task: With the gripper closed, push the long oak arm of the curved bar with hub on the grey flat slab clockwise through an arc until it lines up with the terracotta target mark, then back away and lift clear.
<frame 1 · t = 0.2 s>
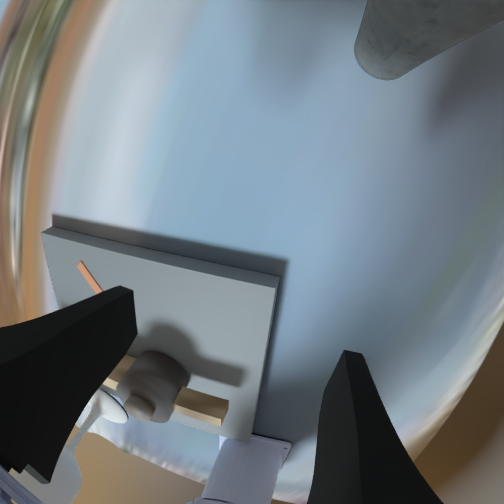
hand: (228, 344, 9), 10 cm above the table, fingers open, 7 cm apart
wineglass: (103, 402, 36), on the table
grey flat slab: (151, 344, 26), on the table
curved bar with hub: (120, 379, 23), point 4 cm above the table, hinge at 0.0°
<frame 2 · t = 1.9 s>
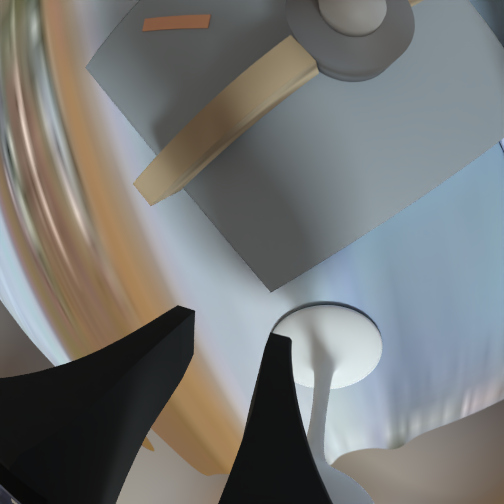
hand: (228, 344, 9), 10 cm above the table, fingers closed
wineglass: (326, 348, 22), on the table
grey flat slab: (306, 51, 14), on the table
curved bar with hub: (296, 59, 11), point 4 cm above the table, hinge at 0.0°
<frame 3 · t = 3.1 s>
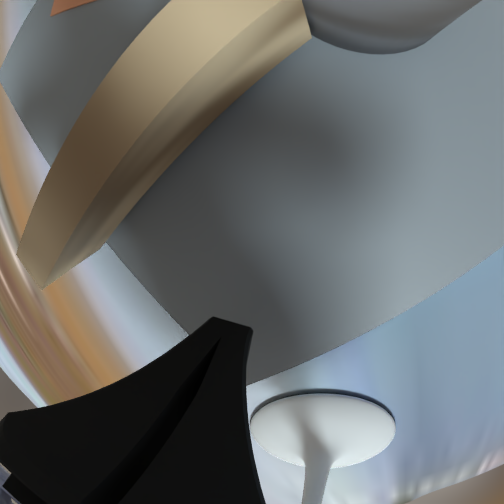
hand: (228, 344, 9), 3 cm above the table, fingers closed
wineglass: (323, 432, 15), on the table
grey flat slab: (290, 10, 7), on the table
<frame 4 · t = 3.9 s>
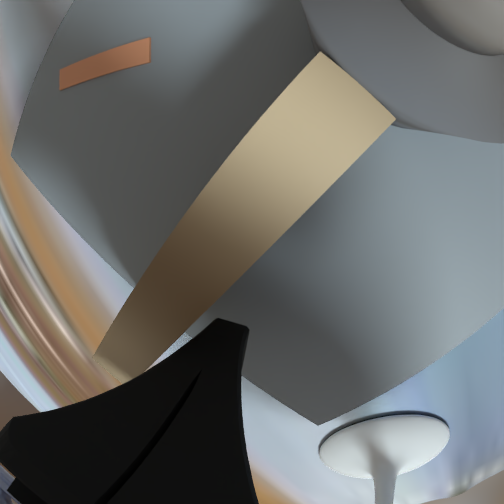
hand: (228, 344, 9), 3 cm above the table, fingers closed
wineglass: (385, 446, 15), on the table
grey flat slab: (329, 72, 8), on the table
curved bar with hub: (336, 108, 5), point 4 cm above the table, hinge at -0.3°, touching gripper
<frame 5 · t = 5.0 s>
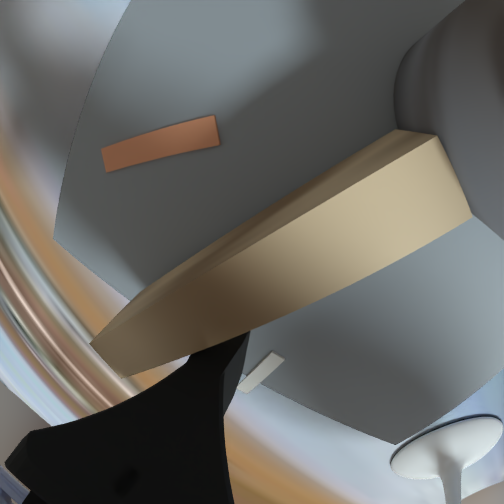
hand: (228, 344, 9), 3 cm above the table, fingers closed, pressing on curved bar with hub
wineglass: (448, 448, 14), on the table
grey flat slab: (399, 140, 8), on the table
curved bar with hub: (418, 180, 5), point 4 cm above the table, hinge at -23.5°, touching gripper
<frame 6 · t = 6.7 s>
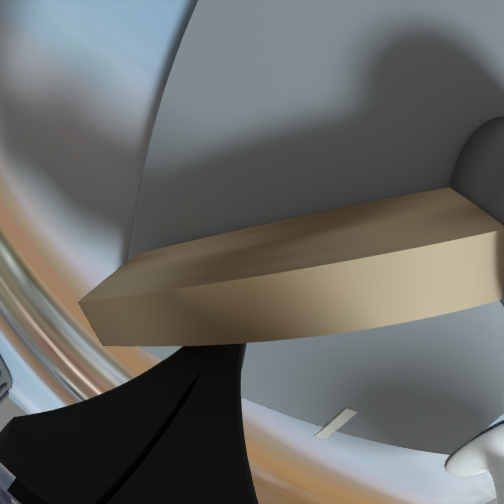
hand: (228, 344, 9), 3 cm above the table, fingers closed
wineglass: (494, 445, 13), on the table
grey flat slab: (446, 220, 9), on the table
curved bar with hub: (468, 251, 5), point 4 cm above the table, hinge at -52.0°, touching gripper
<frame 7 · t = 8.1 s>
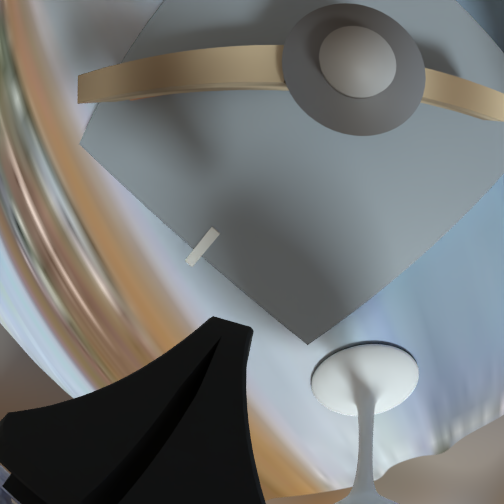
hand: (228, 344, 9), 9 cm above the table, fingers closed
wineglass: (365, 381, 21), on the table
grey flat slab: (307, 99, 14), on the table
curved bar with hub: (274, 67, 10), point 4 cm above the table, hinge at -52.1°
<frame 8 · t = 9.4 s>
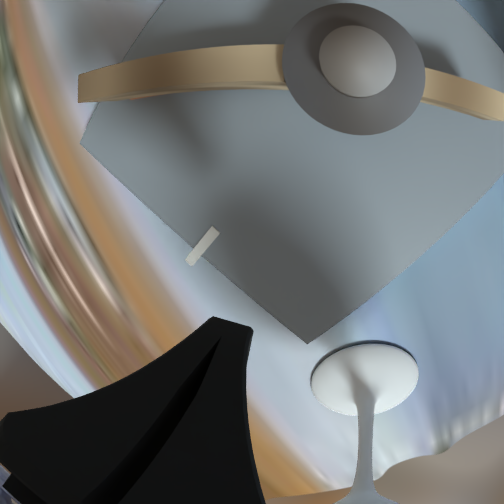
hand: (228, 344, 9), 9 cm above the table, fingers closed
wineglass: (365, 380, 21), on the table
grey flat slab: (307, 98, 14), on the table
curved bar with hub: (275, 66, 10), point 4 cm above the table, hinge at -52.1°
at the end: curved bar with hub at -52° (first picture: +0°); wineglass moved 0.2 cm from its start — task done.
